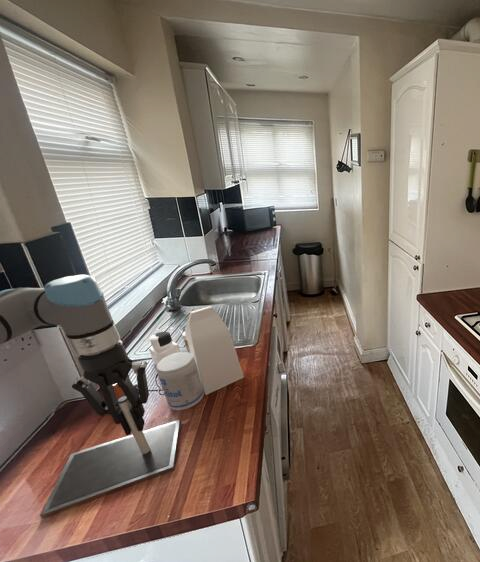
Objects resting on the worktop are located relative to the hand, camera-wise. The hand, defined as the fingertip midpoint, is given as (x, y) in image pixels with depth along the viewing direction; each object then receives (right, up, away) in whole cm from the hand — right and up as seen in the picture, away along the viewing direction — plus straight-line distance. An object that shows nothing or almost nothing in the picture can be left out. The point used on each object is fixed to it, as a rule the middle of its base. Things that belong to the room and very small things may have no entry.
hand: (135, 428), depth 74 cm
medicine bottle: (-18, +6, +39) cm, 43 cm away
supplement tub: (0, -1, +21) cm, 21 cm away
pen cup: (-22, -1, +23) cm, 32 cm away
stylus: (0, -7, +3) cm, 8 cm away
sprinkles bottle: (-6, +5, +38) cm, 38 cm away
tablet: (-4, -9, +1) cm, 10 cm away
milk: (+5, +3, +30) cm, 31 cm away
